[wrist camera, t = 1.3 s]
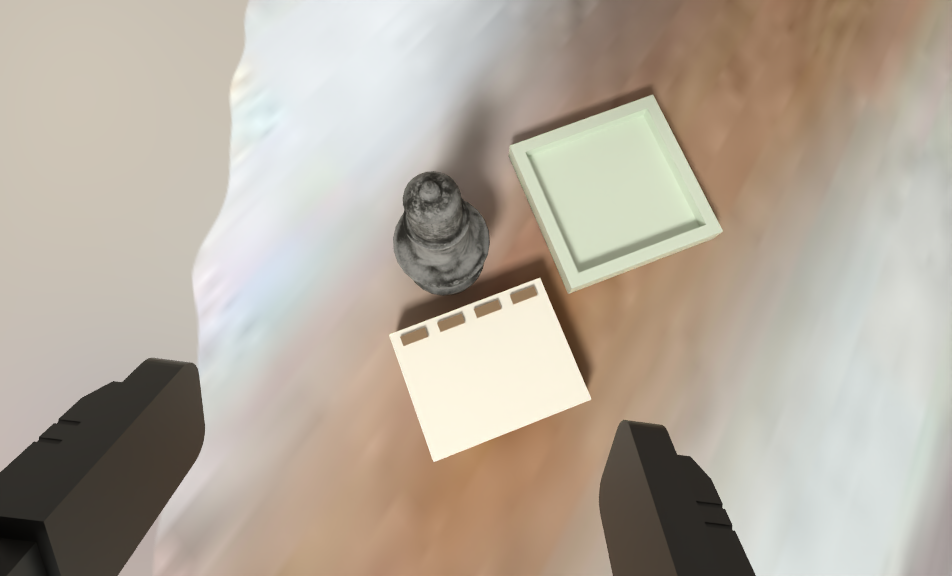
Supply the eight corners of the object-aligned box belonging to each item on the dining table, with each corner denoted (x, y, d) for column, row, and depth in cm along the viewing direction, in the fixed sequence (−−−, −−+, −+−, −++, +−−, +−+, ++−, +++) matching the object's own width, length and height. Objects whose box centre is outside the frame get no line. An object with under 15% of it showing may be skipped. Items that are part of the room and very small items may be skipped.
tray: (646, 106, 39) (652, 94, 38) (713, 238, 37) (722, 231, 35) (508, 155, 38) (509, 145, 37) (568, 293, 36) (571, 288, 34)
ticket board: (536, 284, 36) (540, 276, 34) (585, 400, 34) (592, 399, 32) (393, 339, 35) (388, 334, 33) (436, 459, 34) (433, 462, 32)
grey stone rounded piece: (497, 289, 36) (505, 230, 24) (410, 308, 36) (375, 257, 24) (478, 207, 37) (477, 114, 26) (394, 225, 37) (354, 138, 25)
